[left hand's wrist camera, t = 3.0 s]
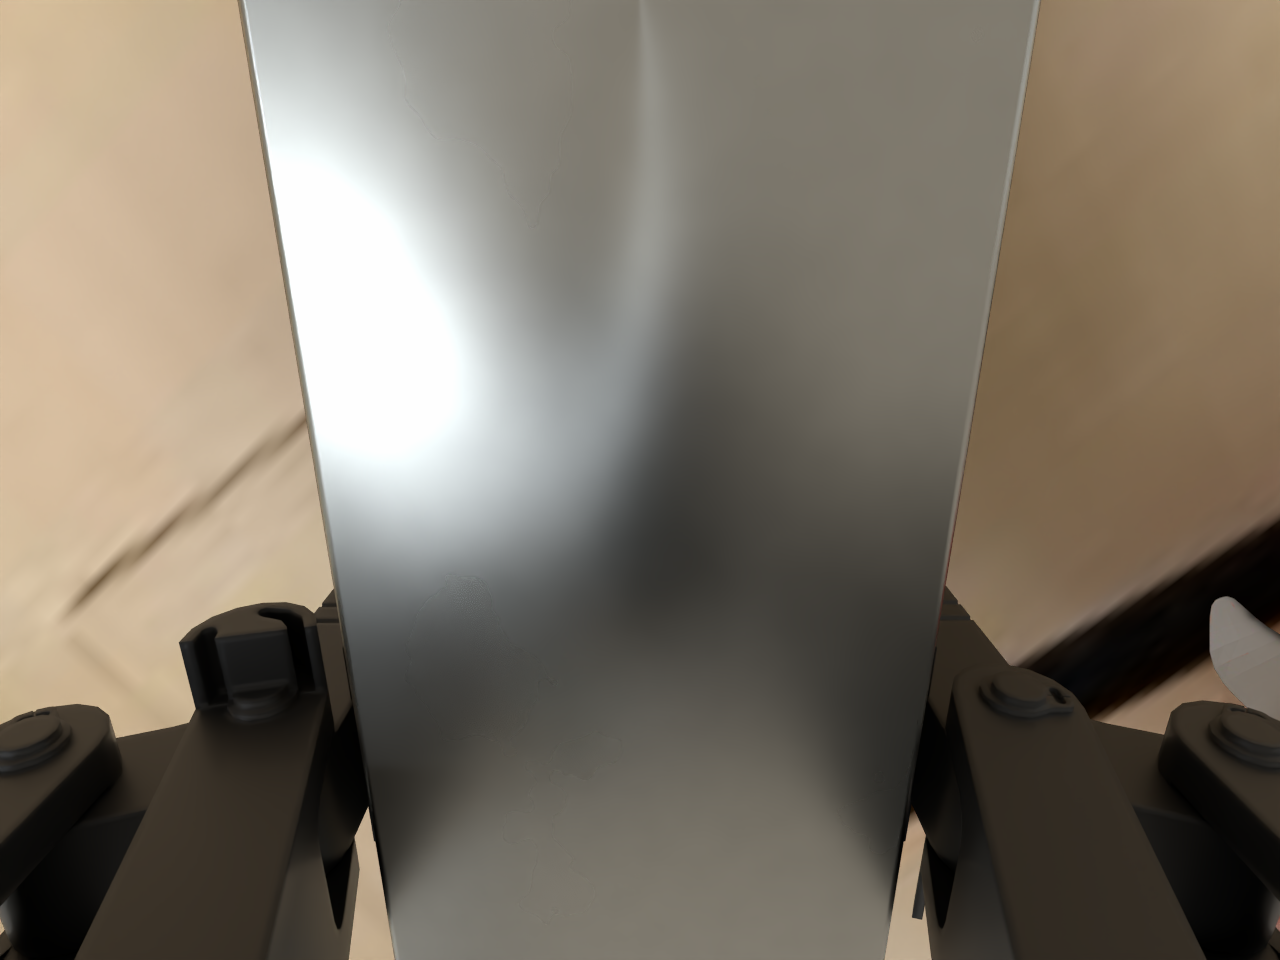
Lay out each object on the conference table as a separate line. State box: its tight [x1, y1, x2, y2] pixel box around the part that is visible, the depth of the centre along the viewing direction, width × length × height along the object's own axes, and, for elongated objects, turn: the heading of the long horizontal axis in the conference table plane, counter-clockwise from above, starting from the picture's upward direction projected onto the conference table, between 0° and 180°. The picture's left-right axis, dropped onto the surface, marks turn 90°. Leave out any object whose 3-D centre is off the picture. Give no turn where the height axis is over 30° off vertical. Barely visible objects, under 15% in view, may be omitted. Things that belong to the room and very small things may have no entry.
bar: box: [238, 0, 1041, 960], centre depth 8 cm, size 22×5×9 cm, turn 0°
